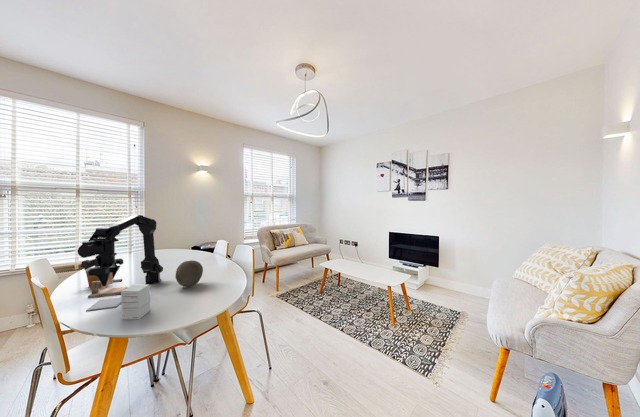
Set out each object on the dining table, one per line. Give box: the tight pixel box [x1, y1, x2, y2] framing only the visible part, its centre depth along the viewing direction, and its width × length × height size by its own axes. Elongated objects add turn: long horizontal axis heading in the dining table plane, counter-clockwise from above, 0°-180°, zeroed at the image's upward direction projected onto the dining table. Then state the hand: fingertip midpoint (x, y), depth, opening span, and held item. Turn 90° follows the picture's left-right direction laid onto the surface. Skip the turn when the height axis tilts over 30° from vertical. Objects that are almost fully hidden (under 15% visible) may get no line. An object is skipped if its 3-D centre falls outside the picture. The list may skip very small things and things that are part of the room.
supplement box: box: [120, 284, 151, 320], centre depth 98 cm, size 7×7×13 cm
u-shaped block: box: [101, 272, 114, 289], centre depth 108 cm, size 2×5×6 cm, turn 22°
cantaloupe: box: [175, 259, 204, 288], centre depth 132 cm, size 14×14×15 cm
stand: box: [87, 278, 128, 299], centre depth 121 cm, size 14×8×7 cm, turn 111°
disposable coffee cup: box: [83, 266, 102, 289], centre depth 130 cm, size 10×10×12 cm
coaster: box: [85, 296, 121, 312], centre depth 108 cm, size 11×11×1 cm
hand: (107, 283), depth 108 cm, fingers closed on u-shaped block, 5 cm apart
